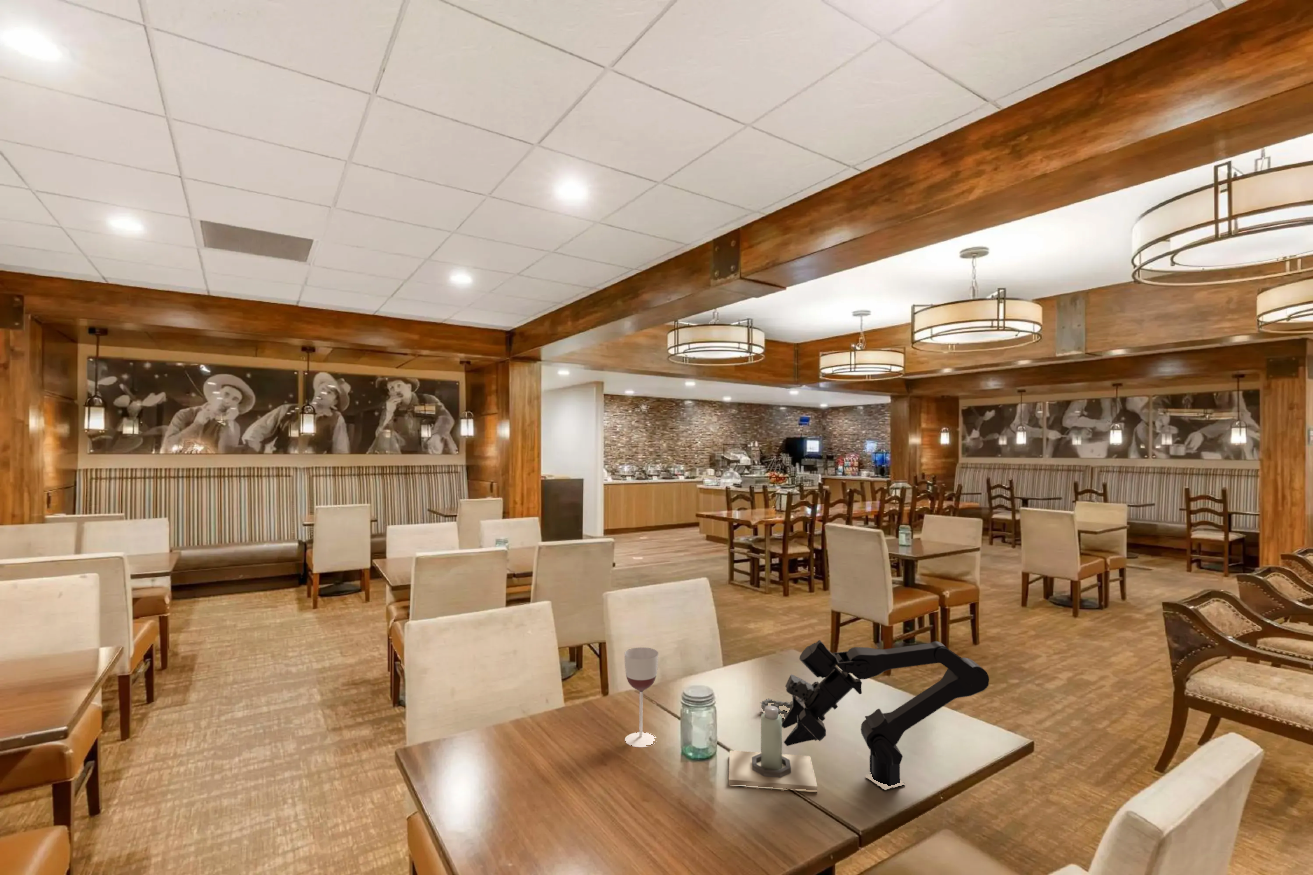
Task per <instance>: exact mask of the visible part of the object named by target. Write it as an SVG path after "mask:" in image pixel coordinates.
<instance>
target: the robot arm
mask: <svg viewBox="0 0 1313 875" xmlns="http://www.w3.org/2000/svg"><path fill="white" fill-rule="evenodd" d="M798 658H799V661H800V662H802V665H804V666H805V667H806V668H807V669H808V670H809V671H810V672H811V673H812V674H813V675H814V676H815V677H816V678H822V680H821V681H820V682H819V681H814V682H813V683H812V684H811V683H809V682H807V681H806V680H804V679H802V678H800V677H798V676H797V675H794V674H792V673H791V674H790V675H789V677H788V680H787V682H786V683H785V688H786V689H785V690H786V691H785V692H787V693H788V694H789V695H791V698H792V699H791V701H793V704H792V707H791V708H790V710H789V712H788V714H787V715H786V717H785V719H783V720H782V729H786V728H788V727H791V726H793V725H795V724H796V725H795V726H794V728H793V729H791V730H792V731H791V732H789V734H788V736H787V737H786V738H785V739H784V741H783V743H784V745H785V746H786V747H789V746H793V745H796V744H800V743H805V742H810V741H819V742H821V741H822V740H823V739H824V738H825V737H826V736H827V729H826V726H825V723H824V720H826V716H825V715H826V714H827V713H829V711H830V710H832V709H833V710H836V709H837V708H838V703H839V702H840V701H841V700H842V699H843V698H844V697H845V696H846V695H848V693H849V692H850V691H851V690H852V689H854V691H856V693H858V694H859V695H861V694H862V693H863V692H862V684H863V682H862V680H868V679H871V678H875V677H877V676H880V675H881V674H883V673H884V672H886V671H890V670H895V669H901V668H910V667H916V666H917V667H918V666H923V665H934V664H940V665H943V666H944V667H945V668H946V670H945V673H944V674H943V676H942V678H941V679H940V680H938V681H937V682H935V683H934V684H933V685H931V686H929V687H928V688H926V689H925V690H923V691H922V692H920V693H918V694H917V695H915V696H913V697H912V698H911V699H909V700H907V702H905V703H904V704H901V705H900V706H898V707H897V708H895V709H894V710H893V711H890V712H884V713H883V712H882V710H881V708H877V709H876V710H875V711H873V712H872V713H871V714H869V715H865V716H864V718H865V719H864V720H863V721H862V723H861V726H860V732H861V733H860V734H861V736H862V738H863V740H864V741H865V744H866V745H867V747H868V749H869V751H870V752H869V753H870V755H869V773H870V772H871V773H870V774H872V777H873V779H874V780H876V781H878V782H880V783H883V784H887V785H888V786H891V785H895V784H897V783H900V780H901V762H902V761H903V754H902V752H901V751H900V749H899V747H898V743H899V741H900V740H901V738H902V737H903V735H904V733H905V732H906V731H907V730H909V729H911V728H912V727H913V726H915V725H917V724H919V722H921V721H923V720H925V719H926V718H928V717H929V716H931V715H933V714H934V713H935V712H937V711H938V710H940V709H941V708H943V707H944V706H947V704H949V703H951V702H953V701H954V700H955V699H959V698H966V697H972V696H975V695H976V694H979V693H981V692H984V691H985V690H986V689H987V688H988V687H989V683H990V677H989V675H988V672H987V671H986V670H985V669H984V668H983V667H982V666H980V664H978V663H977V662H975V661H974V660H973V659H971V658H969V657H961V656H960V655H958V654H956V652H954V651H953V650H950V649H949V648H948V647H947V646H945V645H944V644H943V643H942V642H941V641H937V640H935V641H932V642H928V643H920V644H915V645H907V646H900V647H893V648H892V647H891V648H885V649H881V648H880V649H879V648H874V647H868V646H867V647H863V646H862V647H861V646H854V647H851V648H849V649H848V650H847V651H838V652H831V650H829V649H828V647H826V645H825V643H824V642H823V641H822V640H820V639H819V640H817V641H816V642H814V643H811V644H810V645H808V646H806V647H805V648H804V649H803V651H801V654H800V655H799V657H798Z"/></svg>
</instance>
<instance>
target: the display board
mask: <svg viewBox="0 0 1313 875" xmlns="http://www.w3.org/2000/svg"><path fill="white" fill-rule="evenodd" d="M728 765H729V766H728V767H729V768H728V769H729V770H728V786H729V785H746V786H758V787H773V788H783V789H786V788H787V789H806V790H817V791H818V784H817V779H816V774H815V771H814V766H813V763H812V759H811V756H810V755H801V754H800V755H799V754H788V753H787V754H786V753H782V769H780V770H768V769H764V768H762V767H761V752H760V751H759V752H756V751H743V750H729V764H728Z"/></svg>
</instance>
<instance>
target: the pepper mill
mask: <svg viewBox="0 0 1313 875" xmlns="http://www.w3.org/2000/svg"><path fill="white" fill-rule="evenodd" d="M782 722H783V719H782V716H781V715H779V714H778V708H777V707H775V706H766V707H765V713H761V714H760V753H761V767H762V768H764V769H768V770H780V769H782V754H783V727H782Z"/></svg>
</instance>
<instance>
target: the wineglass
mask: <svg viewBox="0 0 1313 875" xmlns="http://www.w3.org/2000/svg"><path fill="white" fill-rule="evenodd" d="M658 668H659V651H658V650H657V649H654V648H651V647H641V646H640V647H633V648H630V649H627V650H625V652H624V670H625V671H624V672H625V677H626V680H627V682H628V684H629V685H630V686H631V687H632V688H633V689H635V690H636V691H639V714H638V715H639V716H638V717H639V721H638V722H639V726H638V727H639V728H638V729H639V730H638V731H637V733H636V732H632V733H630V734H628V735H627V736H625V738H624V742H625V741H626V742H625V743H626V744H627V745H629V746H631V745H632V746H631V747H634V748H635V747H636V748H647V747H648V746H646V745H651V744H653V741H655V739H654V738H657V737H656V736H655V735H654V734H653V735H654V736H655V737H654V736H653V735H651V734H652V733H650V732H646V733H644V732H645V731H643V729H644V728H643V721H644V720H643V718H644V716H643V713H644V712H643V710H644V708H643V706H644V704H643V702H644V699H643V698H644V697H643V696H644V691H645V690H647V689H649V688H650V687H651V686H652V685H653V684H654V683H655V680H656V678H657V674H658ZM649 733H650V734H649ZM653 745H654V744H653ZM651 746H652V745H651Z"/></svg>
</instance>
